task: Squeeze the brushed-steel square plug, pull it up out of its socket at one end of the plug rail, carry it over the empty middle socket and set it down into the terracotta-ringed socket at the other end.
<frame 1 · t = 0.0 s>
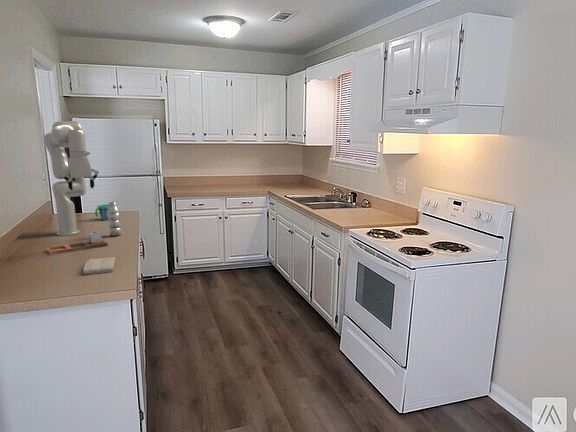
hand: (81, 188, 205), 31 cm above the counter, tool pointing down, fingers open, 9 cm apart
plug rail: (77, 248, 212), on the counter
snack cup: (107, 219, 288), on the counter
plastic bottle: (115, 235, 239), on the counter
washcloth: (100, 268, 179), on the counter
steel plug: (96, 245, 217), resting in plug rail
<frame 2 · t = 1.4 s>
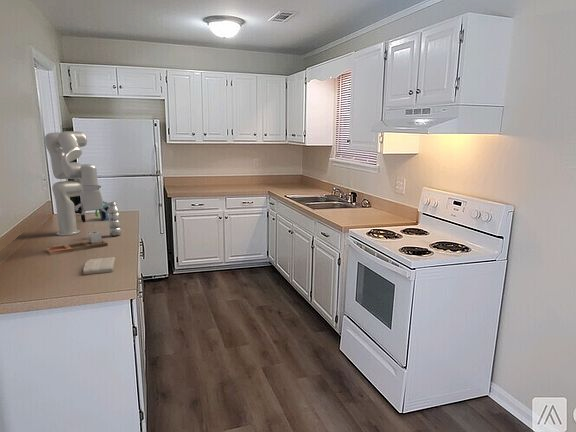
hand: (93, 220, 214), 13 cm above the counter, tool pointing down, fingers open, 9 cm apart
nothing on the counter moved.
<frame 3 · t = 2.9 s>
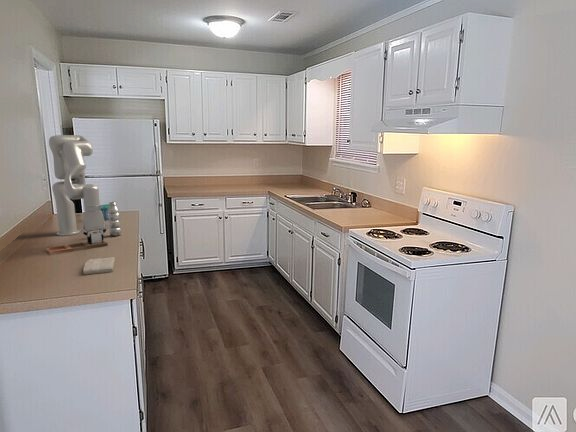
hand: (95, 242, 217), 2 cm above the counter, tool pointing down, fingers closed on steel plug, 5 cm apart
steel plug: (96, 245, 217), resting in plug rail, touching gripper
everything else where it was.
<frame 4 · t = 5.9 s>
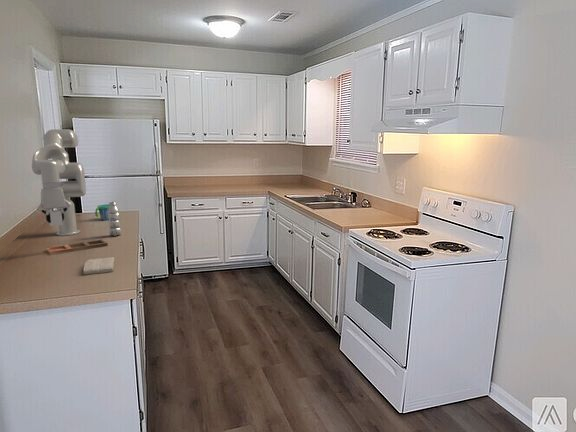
hand: (55, 221, 203), 15 cm above the counter, tool pointing down, fingers closed on steel plug, 5 cm apart
steel plug: (56, 224, 204), point 14 cm above the counter, touching gripper
everything else where it was.
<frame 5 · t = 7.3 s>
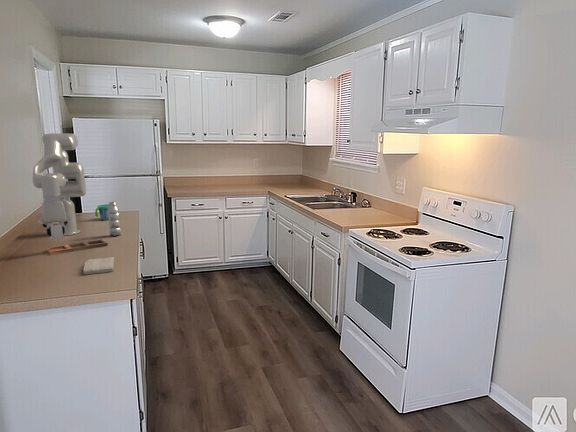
hand: (56, 234, 204), 9 cm above the counter, tool pointing down, fingers closed on steel plug, 5 cm apart
steel plug: (56, 238, 205), point 7 cm above the counter, touching gripper
everything else where it was.
when the fingers open (3 cm above the counter, at t = 8.7 s): steel plug stays where it is, resting on plug rail.
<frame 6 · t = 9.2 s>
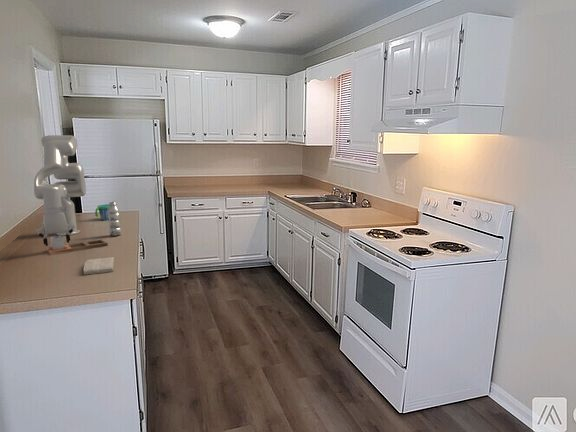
hand: (57, 243, 205), 4 cm above the counter, tool pointing down, fingers open, 9 cm apart
steel plug: (58, 250, 206), resting on plug rail
everything else where it was.
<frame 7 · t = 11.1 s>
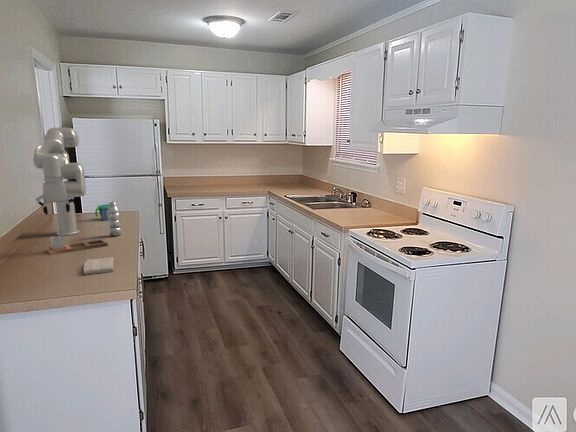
hand: (57, 213, 207), 19 cm above the counter, tool pointing down, fingers open, 9 cm apart
nothing on the counter moved.
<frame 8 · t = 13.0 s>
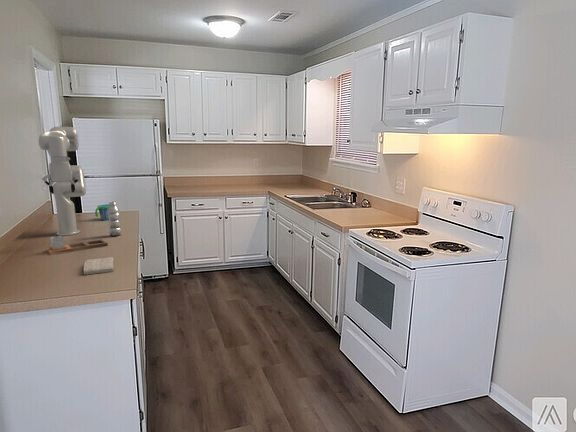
hand: (62, 192, 214), 28 cm above the counter, tool pointing down, fingers open, 9 cm apart
nothing on the counter moved.
at the end: steel plug 0.0 cm from the target spot on the plug rail, point 0.3 cm above the plug rail's base; steel plug tilted 0°; the gripper is holding nothing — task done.
